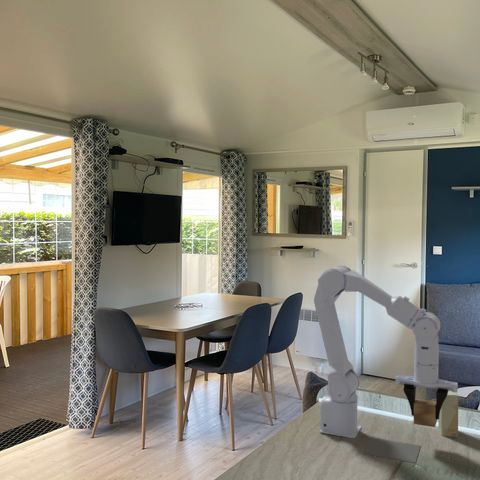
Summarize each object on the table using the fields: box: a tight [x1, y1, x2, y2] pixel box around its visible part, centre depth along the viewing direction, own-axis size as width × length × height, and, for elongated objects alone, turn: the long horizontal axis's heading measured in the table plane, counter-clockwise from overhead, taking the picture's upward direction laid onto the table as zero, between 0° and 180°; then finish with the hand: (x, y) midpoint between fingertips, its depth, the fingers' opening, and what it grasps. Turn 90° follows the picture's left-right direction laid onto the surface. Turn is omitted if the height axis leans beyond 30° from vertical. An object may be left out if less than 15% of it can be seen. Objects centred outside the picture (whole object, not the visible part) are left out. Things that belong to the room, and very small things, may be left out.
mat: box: [363, 437, 421, 464], centre depth 133 cm, size 12×10×1 cm
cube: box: [413, 398, 438, 428], centre depth 135 cm, size 5×5×5 cm
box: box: [437, 391, 459, 438], centre depth 144 cm, size 5×4×11 cm
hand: (425, 416), depth 135 cm, fingers closed on cube, 5 cm apart
